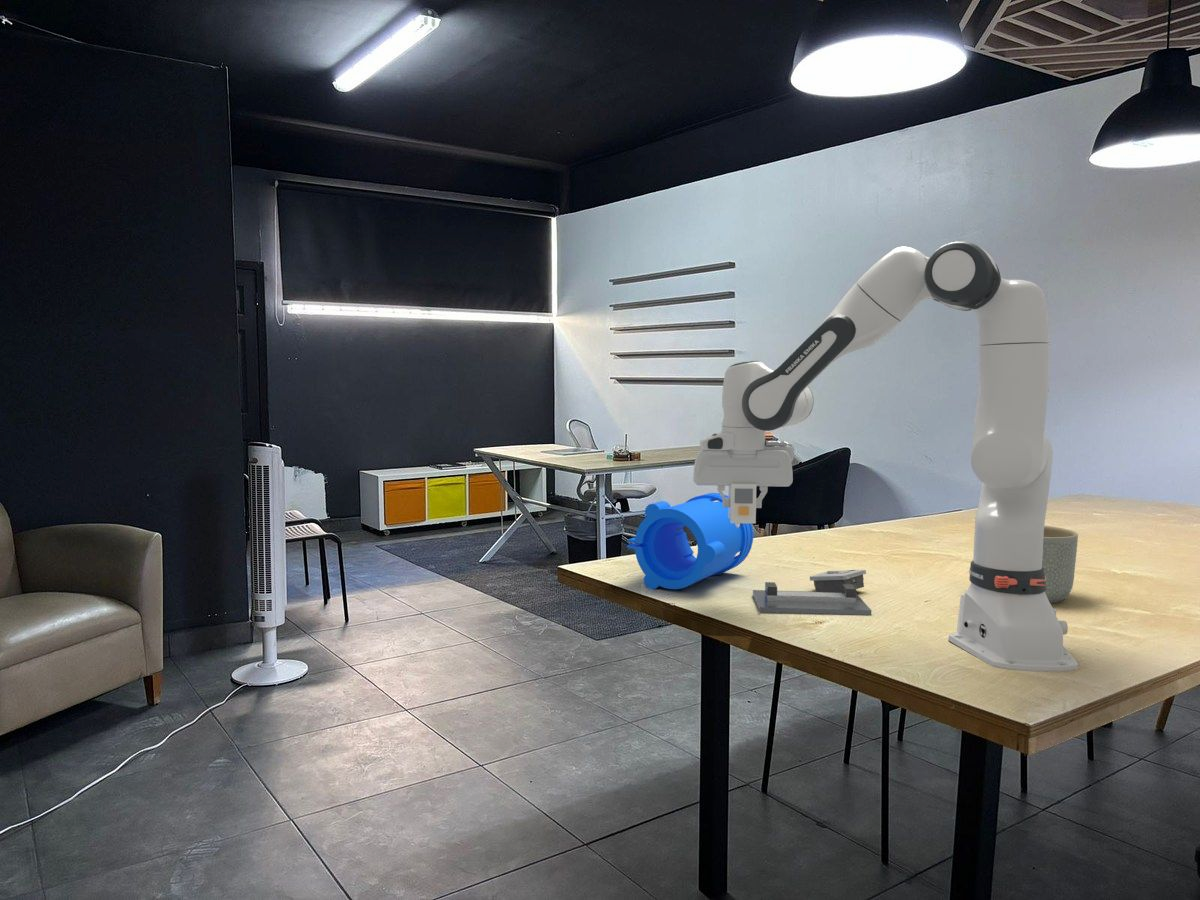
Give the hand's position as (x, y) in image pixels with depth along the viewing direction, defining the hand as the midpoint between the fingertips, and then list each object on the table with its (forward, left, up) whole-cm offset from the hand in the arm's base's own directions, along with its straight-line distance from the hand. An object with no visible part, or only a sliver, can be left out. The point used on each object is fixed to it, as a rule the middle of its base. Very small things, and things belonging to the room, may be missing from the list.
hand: (741, 507), depth 177 cm
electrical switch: (+16, -26, -21) cm, 37 cm away
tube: (+22, +9, -21) cm, 32 cm away
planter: (+12, -64, -21) cm, 68 cm away
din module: (0, 0, -3) cm, 3 cm away
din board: (+1, -15, -21) cm, 25 cm away
